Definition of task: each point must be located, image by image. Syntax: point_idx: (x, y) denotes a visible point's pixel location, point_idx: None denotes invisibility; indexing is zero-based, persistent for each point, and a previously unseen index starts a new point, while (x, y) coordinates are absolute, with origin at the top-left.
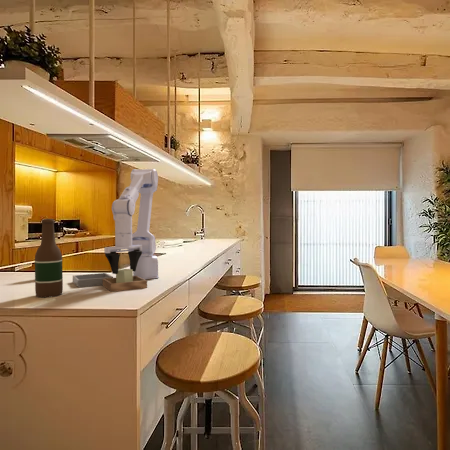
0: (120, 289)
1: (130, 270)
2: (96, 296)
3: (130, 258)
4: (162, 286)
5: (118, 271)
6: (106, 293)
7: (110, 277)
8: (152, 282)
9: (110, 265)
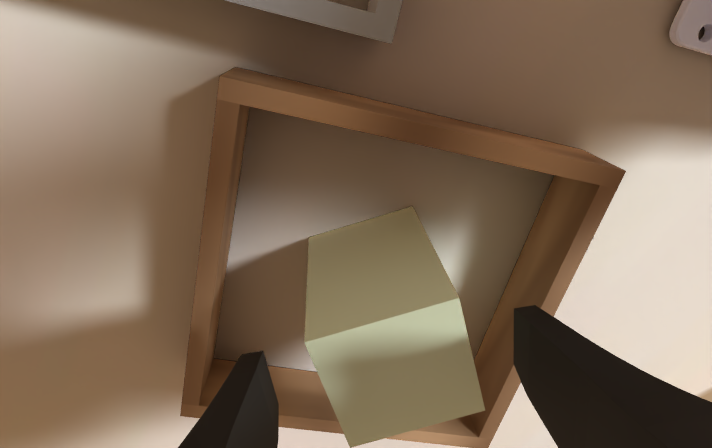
0: None
1: (445, 414)
2: (54, 437)
3: (620, 439)
4: None
5: (318, 368)
6: (145, 398)
7: (353, 32)
8: (659, 251)
9: (191, 435)
